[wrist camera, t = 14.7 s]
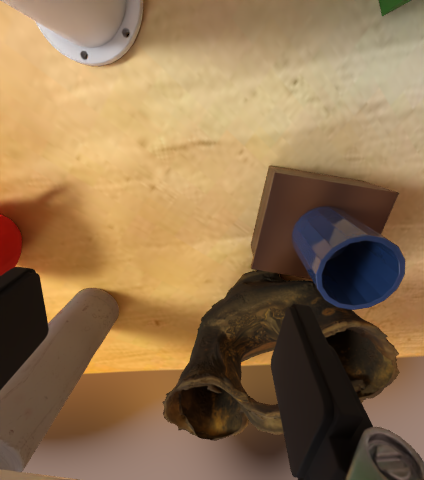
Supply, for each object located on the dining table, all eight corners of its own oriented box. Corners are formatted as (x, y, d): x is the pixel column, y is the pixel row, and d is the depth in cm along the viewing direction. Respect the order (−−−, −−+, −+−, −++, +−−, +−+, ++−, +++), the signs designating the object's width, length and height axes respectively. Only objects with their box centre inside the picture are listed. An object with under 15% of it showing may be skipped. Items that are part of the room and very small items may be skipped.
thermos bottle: (65, 307, 44) (-163, 544, 19) (89, 279, 42) (-138, 508, 16) (103, 332, 46) (-58, 583, 20) (128, 307, 44) (-20, 556, 18)
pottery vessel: (204, 344, 46) (187, 484, 27) (174, 298, 42) (132, 422, 24) (344, 295, 40) (441, 430, 22) (321, 238, 37) (414, 339, 18)
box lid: (250, 266, 32) (251, 269, 31) (273, 171, 27) (274, 172, 26) (355, 283, 31) (358, 287, 31) (394, 191, 27) (399, 192, 26)
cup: (301, 201, 27) (332, 229, 19) (362, 211, 27) (420, 243, 19) (285, 256, 30) (306, 302, 22) (341, 265, 30) (384, 315, 21)
